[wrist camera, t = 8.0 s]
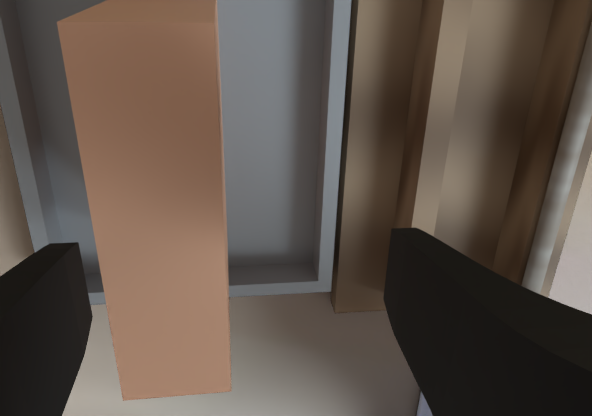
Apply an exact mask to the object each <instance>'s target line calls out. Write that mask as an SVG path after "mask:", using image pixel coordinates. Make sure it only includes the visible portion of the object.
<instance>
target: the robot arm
mask: <svg viewBox="0 0 592 416" xmlns="http://www.w3.org/2000/svg"><path fill="white" fill-rule="evenodd" d="M383 300H384V303H385V307H386V310H387V313H388V317H389V320H390V323H391V326H392V329H393V332H394V335H395V337H396V339H397V341H398V344H399V346H400V348H401V350H402V352H403V354H404V356H405V358H406V361H407V363H408V365H409V367H410V369H411V371H412V373H413V375H414V377H415V379H416V381H417V383H418V385H419V387H420V390H421V395H420V400H419V405H418V411H417V416H592V315H591V314H589V313H586V312H583V311H580V310H577V309H575V308H572V307H569V306H567V305H564V304H562V303H559V302H557V301H554V300H552V299H550V298H547V297H545V296H543V295H540V294H538V293H536V292H533V291H531V290H529V289H527V288H525V287H523V286H521V285H519V284H517V283H515V282H513V281H511V280H509V279H507V278H505V277H503V276H501V275H499V274H497V273H495V272H494V271H492V270H490V269H488V268H486V267H484V266H483V265H481V264H479V263H477V262H476V261H474V260H472V259H471V258H469V257H467V256H465V255H464V254H462V253H460V252H459V251H457V250H455V249H454V248H452V247H450V246H449V245H447V244H445V243H444V242H442V241H440V240H439V239H437V238H435V237H433V236H432V235H430V234H428V233H426V232H424V231H423V230H420V229H418V228H416V227H415V228H392V229H391V236H390V245H389V254H388V262H387V271H386V279H385V288H384V296H383ZM92 317H93V316H92V311H91V306H90V301H89V295H88V290H87V285H86V279H85V274H84V269H83V264H82V258H81V253H80V248H79V242H71V243H50V244H48V245H46V246H44V247H43V248H41V249H40V250H38V251H36V252H35V253H33V254H32V255H31V256H29V257H28V258H26V259H25V260H23V261H22V262H20V263H19V264H18V265H16V266H15V267H13V268H12V269H10V270H9V271H8V272H6V273H5V274H3V275H2V276H0V416H62V414H63V411H64V408H65V406H66V403H67V401H68V398H69V395H70V393H71V390H72V387H73V385H74V382H75V379H76V376H77V374H78V371H79V368H80V366H81V363H82V360H83V357H84V354H85V350H86V345H87V341H88V336H89V331H90V327H91V322H92Z"/></svg>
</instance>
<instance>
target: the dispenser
mask: <svg viewBox="0 0 592 416" xmlns="http://www.w3.org/2000/svg"><path fill="white" fill-rule="evenodd" d="M591 151H592V0H352V9H351V23H350V37H349V51H348V65H347V79H346V93H345V108H344V122H343V136H342V150H341V164H340V178H339V192H338V206H337V221H336V235H335V249H334V263H333V277H332V291H331V303H332V306H333V309H334V312H335V313H347V312H364V311H380V310H386V307H385V303H384V300H383V296H384V288H385V279H386V271H387V262H388V254H389V245H390V236H391V229H392V228H415V227H416V228H418V229H420V230H423V231H424V232H426V233H428V234H430V235H432V236H433V237H435V238H437V239H439V240H440V241H442V242H444V243H445V244H447V245H449V246H450V247H452V248H454V249H455V250H457V251H459V252H460V253H462V254H464V255H465V256H467V257H469V258H471V259H472V260H474V261H476V262H477V263H479V264H481V265H483V266H484V267H486V268H488V269H490V270H492V271H494V272H495V273H497V274H499V275H501V276H503V277H505V278H507V279H509V280H511V281H513V282H515V283H517V284H519V285H521V286H523V287H525V288H527V289H529V290H531V291H533V292H536V293H538V294H540V295H543V296H545V297H547V298H548V296H549V292H550V289H551V286H552V282H553V279H554V276H555V272H556V269H557V265H558V262H559V259H560V255H561V252H562V249H563V245H564V242H565V239H566V235H567V232H568V228H569V225H570V222H571V218H572V215H573V212H574V208H575V205H576V202H577V198H578V195H579V191H580V188H581V185H582V181H583V178H584V175H585V171H586V168H587V165H588V161H589V158H590V154H591Z"/></svg>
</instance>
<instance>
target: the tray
mask: <svg viewBox="0 0 592 416" xmlns="http://www.w3.org/2000/svg"><path fill="white" fill-rule="evenodd" d="M104 1H106V0H0V104H1V108H2V113H3V117H4V121H5V126H6V130H7V135H8V139H9V143H10V148H11V152H12V156H13V161H14V165H15V170H16V174H17V178H18V183H19V187H20V191H21V196H22V200H23V205H24V209H25V213H26V218H27V222H28V226H29V231H30V235H31V240H32V244H33V248H34V253H35V252H36V251H38V250H40V249H41V248H43V247H44V246H46V245H48V244H50V243H71V242H79V248H80V253H81V258H82V264H83V269H84V274H85V279H86V285H87V290H88V295H89V301H90V305H98V304H106V300H105V294H104V288H103V283H102V277H101V271H100V266H99V260H98V254H97V249H96V243H95V237H94V231H93V226H92V220H91V214H90V209H89V203H88V197H87V191H86V186H85V180H84V174H83V169H82V163H81V157H80V152H79V146H78V140H77V134H76V129H75V123H74V117H73V112H72V106H71V100H70V95H69V89H68V83H67V77H66V72H65V66H64V60H63V55H62V49H61V43H60V37H59V32H58V26H57V22H58V21H60V20H62V19H65V18H67V17H69V16H72V15H74V14H76V13H79V12H81V11H83V10H86V9H88V8H90V7H93V6H95V5H97V4H99V3H102V2H104ZM217 12H218V35H219V57H220V80H221V102H222V125H223V148H224V170H225V193H226V215H227V239H228V278H229V297H243V296H261V295H280V294H298V293H316V292H331V284H332V270H333V256H334V241H335V227H336V213H337V199H338V184H339V170H340V156H341V142H342V127H343V113H344V99H345V85H346V70H347V56H348V42H349V28H350V13H351V0H217Z"/></svg>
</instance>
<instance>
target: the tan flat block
mask: <svg viewBox="0 0 592 416" xmlns="http://www.w3.org/2000/svg"><path fill="white" fill-rule="evenodd" d="M57 26H58V32H59V37H60V43H61V49H62V55H63V60H64V66H65V72H66V77H67V83H68V89H69V95H70V100H71V106H72V112H73V117H74V123H75V129H76V134H77V140H78V146H79V152H80V157H81V163H82V169H83V174H84V180H85V186H86V191H87V197H88V203H89V209H90V214H91V220H92V226H93V231H94V237H95V243H96V249H97V254H98V260H99V266H100V271H101V277H102V283H103V288H104V294H105V300H106V306H107V311H108V317H109V323H110V328H111V334H112V340H113V345H114V351H115V357H116V363H117V368H118V374H119V380H120V385H121V391H122V397H123V400H135V399H147V398H159V397H171V396H183V395H194V394H206V393H218V392H230V391H231V355H230V316H229V278H228V239H227V215H226V193H225V170H224V148H223V125H222V102H221V80H220V57H219V35H218V12H217V0H106V1H104V2H102V3H99V4H97V5H95V6H93V7H90V8H88V9H86V10H83V11H81V12H79V13H76V14H74V15H72V16H69V17H67V18H65V19H62V20H60V21H58V22H57Z"/></svg>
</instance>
